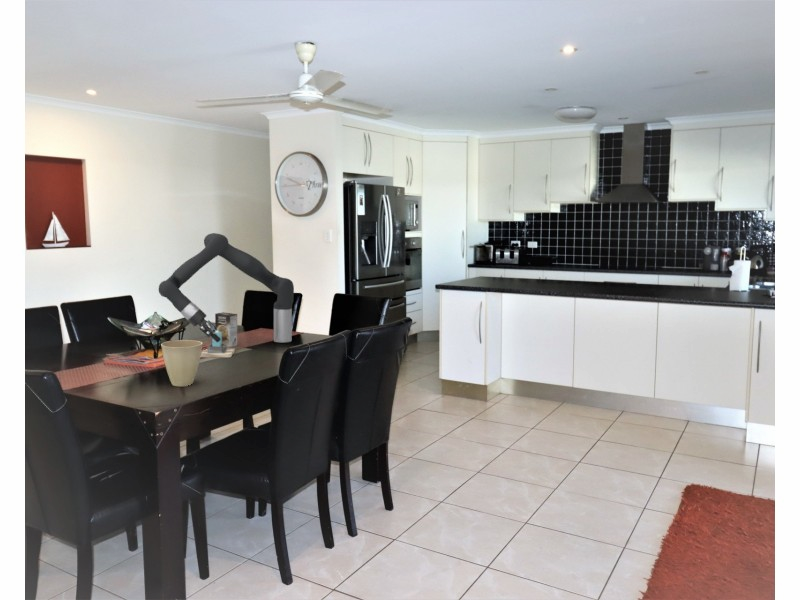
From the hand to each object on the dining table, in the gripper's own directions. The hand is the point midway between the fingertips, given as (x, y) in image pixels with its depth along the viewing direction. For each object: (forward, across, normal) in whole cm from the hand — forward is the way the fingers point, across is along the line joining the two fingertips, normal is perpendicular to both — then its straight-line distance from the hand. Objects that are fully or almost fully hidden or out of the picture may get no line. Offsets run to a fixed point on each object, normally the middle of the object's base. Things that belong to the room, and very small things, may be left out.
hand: (220, 339), depth 290 cm
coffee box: (+5, +20, +5) cm, 21 cm away
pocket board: (+4, 0, +6) cm, 7 cm away
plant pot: (+1, -53, +9) cm, 54 cm away
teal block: (+3, 0, +5) cm, 6 cm away
